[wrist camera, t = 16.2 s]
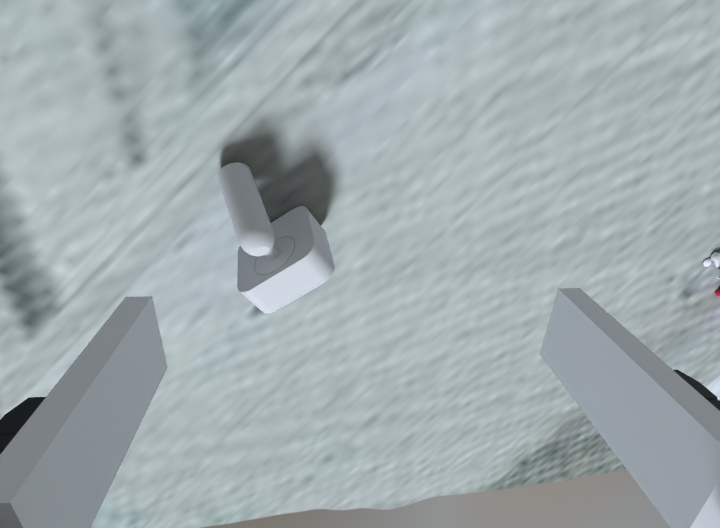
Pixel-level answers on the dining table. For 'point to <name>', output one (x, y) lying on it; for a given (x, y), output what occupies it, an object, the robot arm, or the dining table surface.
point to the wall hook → (273, 245)
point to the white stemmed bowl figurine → (716, 257)
